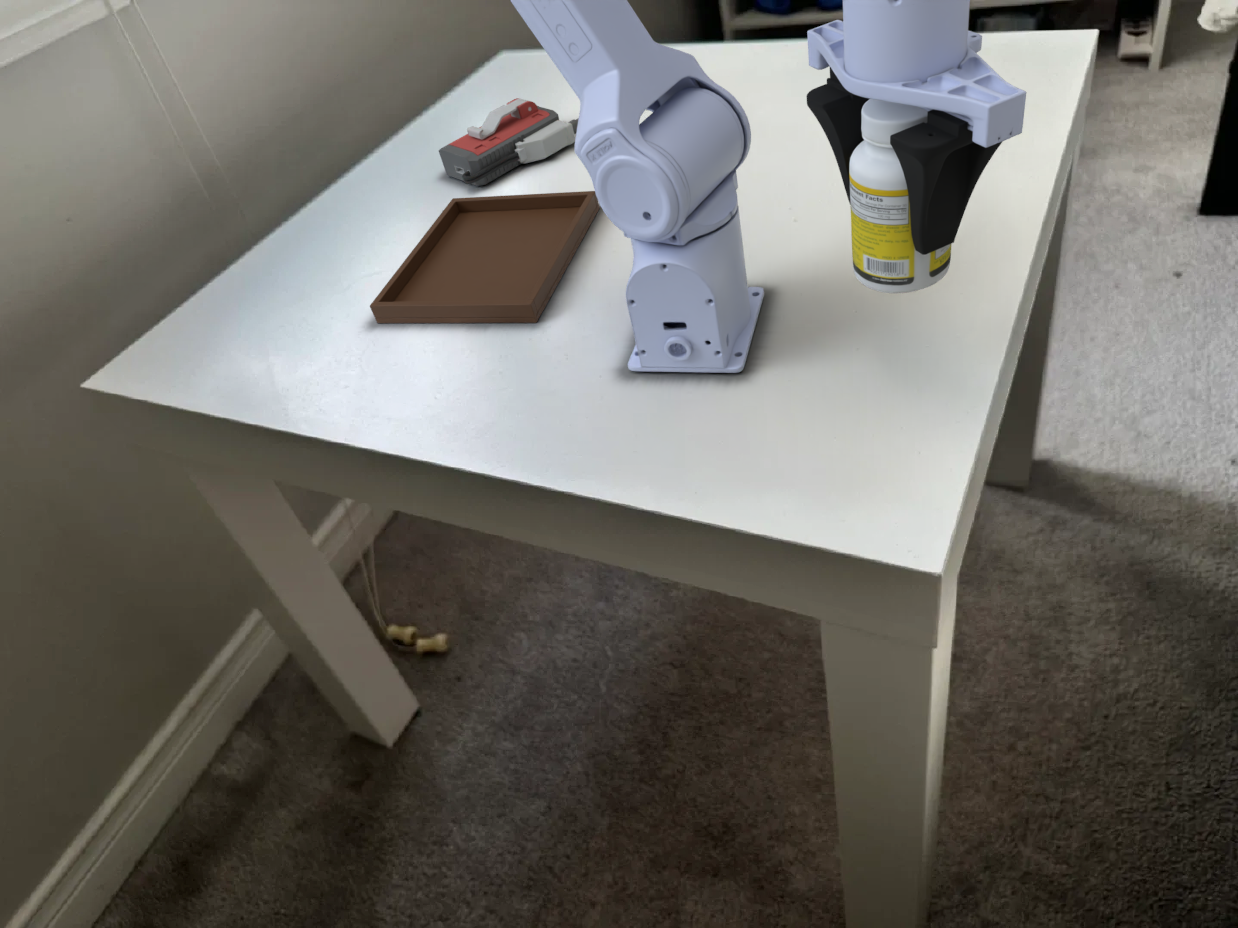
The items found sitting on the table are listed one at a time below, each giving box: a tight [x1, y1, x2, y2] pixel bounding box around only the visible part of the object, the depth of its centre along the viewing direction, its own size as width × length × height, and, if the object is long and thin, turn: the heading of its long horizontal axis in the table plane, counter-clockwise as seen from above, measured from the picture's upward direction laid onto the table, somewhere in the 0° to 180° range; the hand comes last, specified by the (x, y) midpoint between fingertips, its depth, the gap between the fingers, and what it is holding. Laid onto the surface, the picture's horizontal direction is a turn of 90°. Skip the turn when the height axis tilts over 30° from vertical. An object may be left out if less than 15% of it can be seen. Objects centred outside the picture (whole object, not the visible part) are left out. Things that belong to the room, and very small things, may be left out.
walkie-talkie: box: [438, 97, 579, 187], centre depth 91 cm, size 9×4×20 cm
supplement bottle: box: [849, 99, 953, 294], centre depth 49 cm, size 5×5×10 cm
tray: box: [369, 190, 601, 324], centre depth 76 cm, size 17×14×2 cm
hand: (901, 225), depth 50 cm, fingers closed on supplement bottle, 5 cm apart
